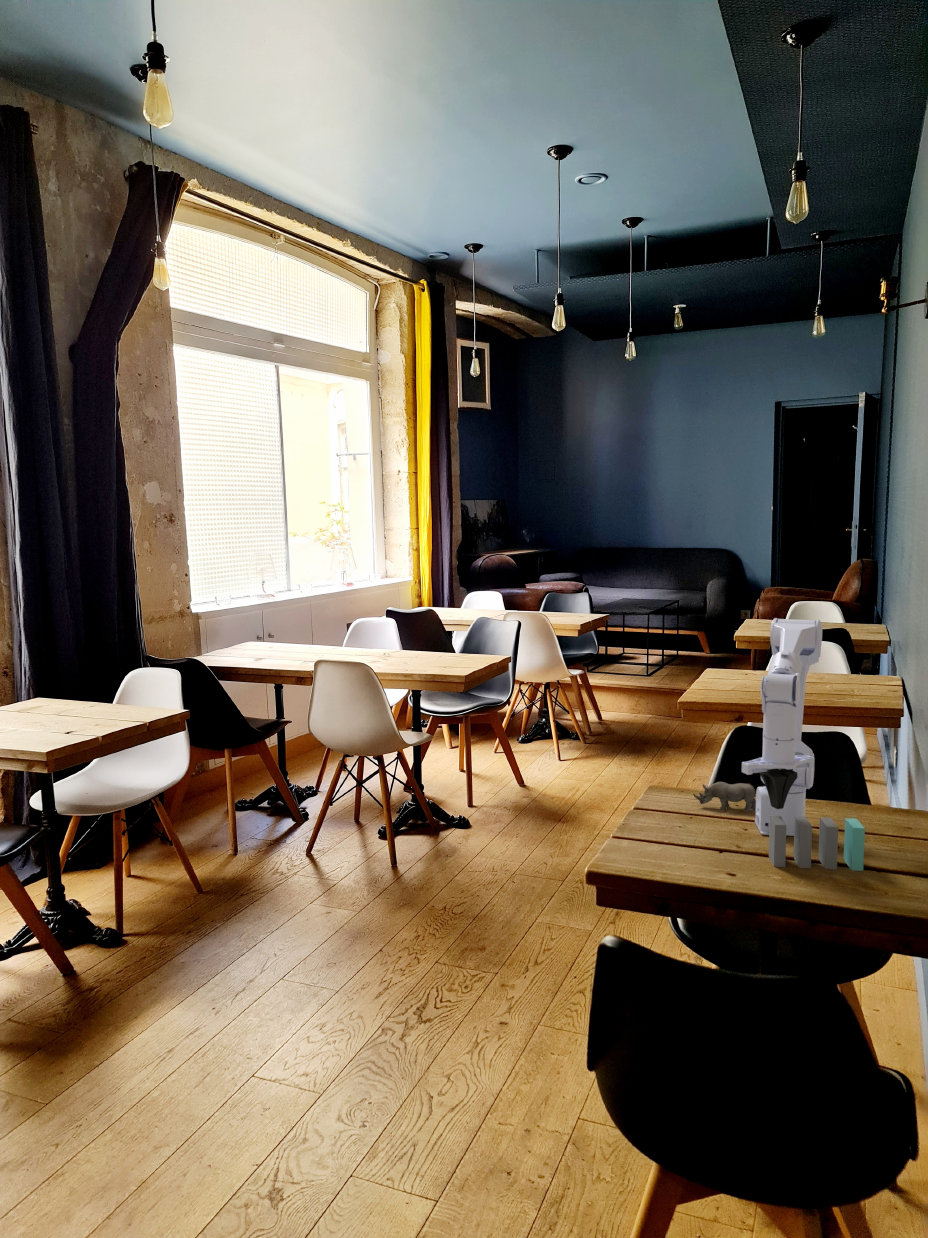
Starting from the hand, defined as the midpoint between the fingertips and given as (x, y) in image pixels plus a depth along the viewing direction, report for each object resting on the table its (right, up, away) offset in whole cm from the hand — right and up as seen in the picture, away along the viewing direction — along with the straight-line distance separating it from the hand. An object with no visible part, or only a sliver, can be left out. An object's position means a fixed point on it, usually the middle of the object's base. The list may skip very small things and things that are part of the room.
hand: (777, 807), depth 162 cm
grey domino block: (+8, -10, -3) cm, 13 cm away
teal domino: (+13, -10, -3) cm, 17 cm away
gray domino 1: (-1, -10, -1) cm, 10 cm away
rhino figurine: (-1, -7, +28) cm, 29 cm away
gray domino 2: (+4, -10, -2) cm, 11 cm away
